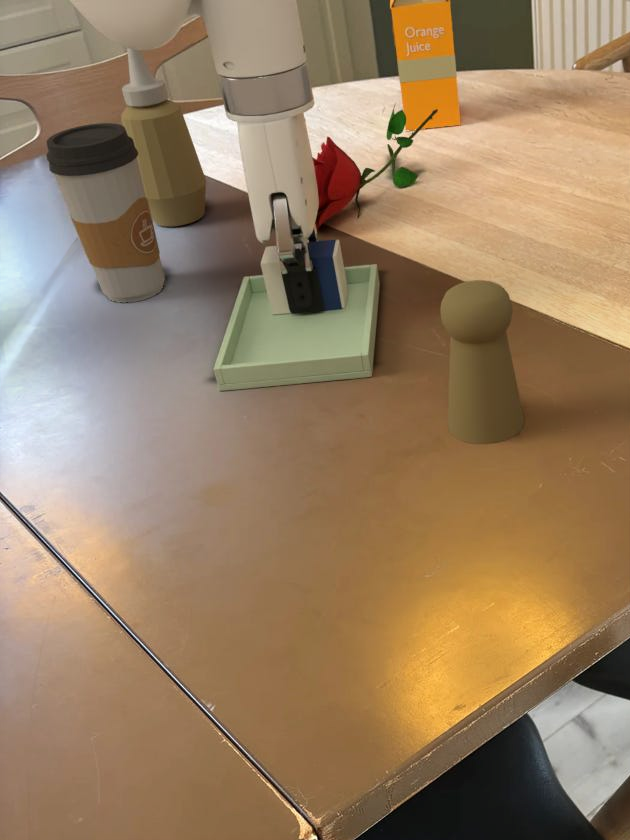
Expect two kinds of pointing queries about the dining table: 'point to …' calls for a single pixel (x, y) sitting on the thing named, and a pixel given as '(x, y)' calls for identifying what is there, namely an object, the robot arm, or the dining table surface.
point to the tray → (299, 337)
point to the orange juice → (426, 62)
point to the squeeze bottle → (162, 148)
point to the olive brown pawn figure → (480, 364)
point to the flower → (356, 171)
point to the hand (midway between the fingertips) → (309, 298)
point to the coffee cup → (108, 208)
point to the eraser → (328, 269)
